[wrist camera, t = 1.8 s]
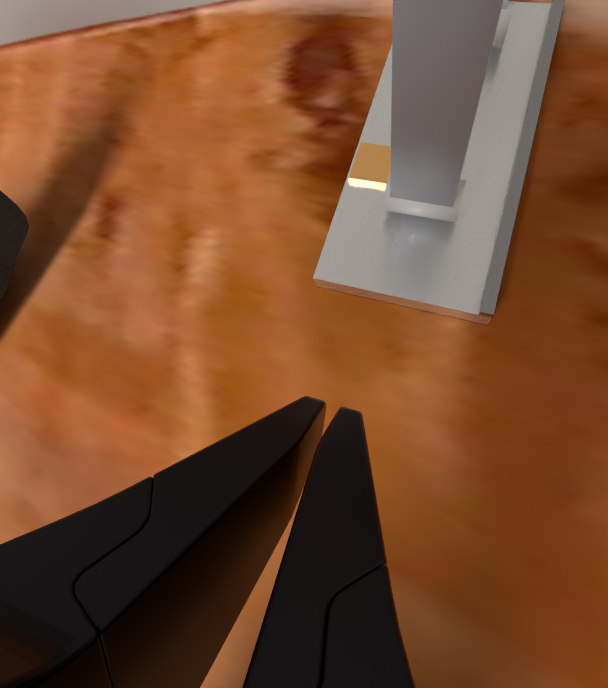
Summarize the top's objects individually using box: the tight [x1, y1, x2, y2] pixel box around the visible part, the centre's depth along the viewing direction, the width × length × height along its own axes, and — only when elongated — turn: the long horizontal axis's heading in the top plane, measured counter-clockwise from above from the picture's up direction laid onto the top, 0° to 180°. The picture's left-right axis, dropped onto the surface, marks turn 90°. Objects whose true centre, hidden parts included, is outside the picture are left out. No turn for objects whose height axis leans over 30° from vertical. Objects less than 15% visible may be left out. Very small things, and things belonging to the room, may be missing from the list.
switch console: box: [313, 0, 565, 325], centre depth 25 cm, size 20×9×1 cm, turn 162°
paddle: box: [383, 0, 504, 222], centre depth 17 cm, size 2×4×13 cm, turn 72°
